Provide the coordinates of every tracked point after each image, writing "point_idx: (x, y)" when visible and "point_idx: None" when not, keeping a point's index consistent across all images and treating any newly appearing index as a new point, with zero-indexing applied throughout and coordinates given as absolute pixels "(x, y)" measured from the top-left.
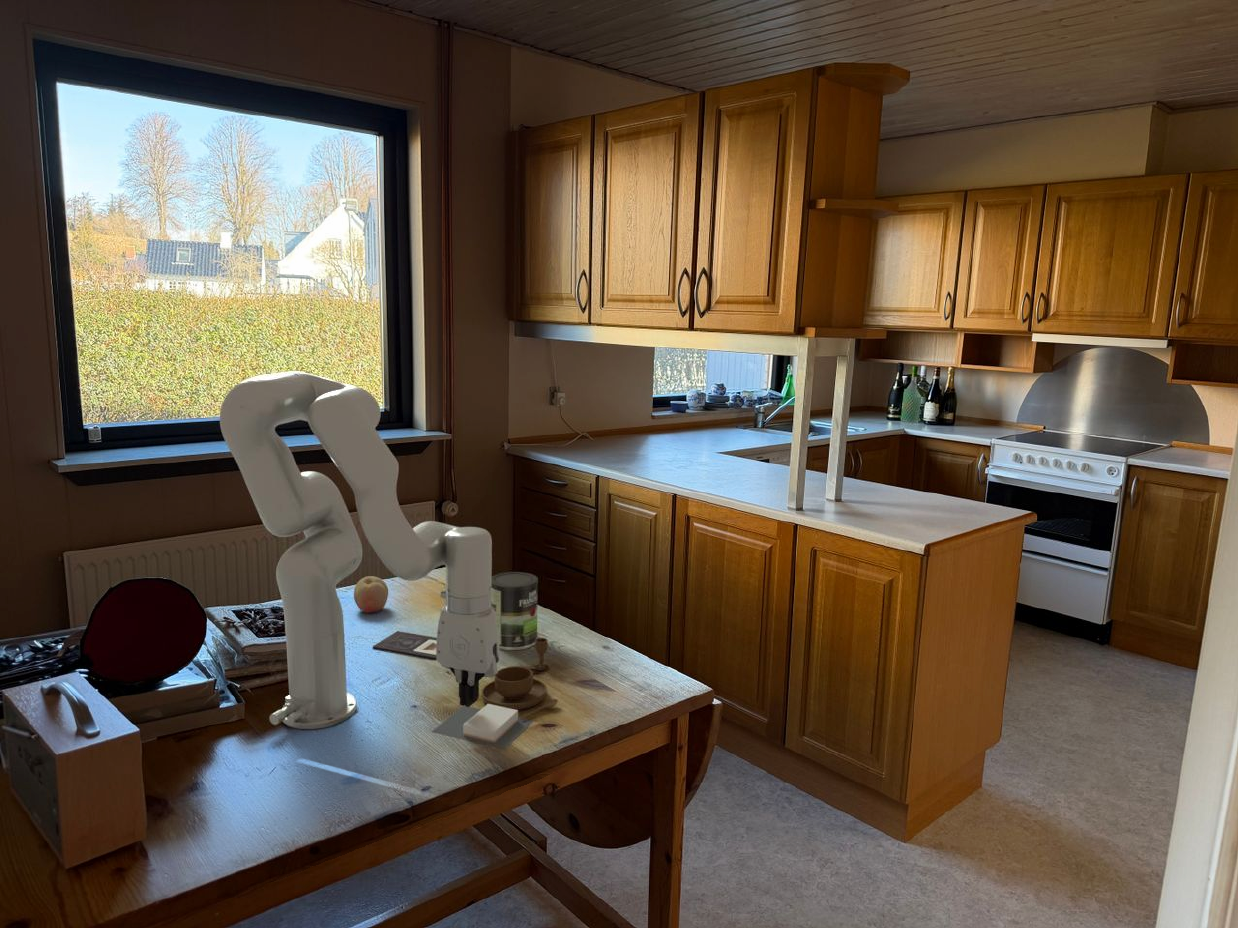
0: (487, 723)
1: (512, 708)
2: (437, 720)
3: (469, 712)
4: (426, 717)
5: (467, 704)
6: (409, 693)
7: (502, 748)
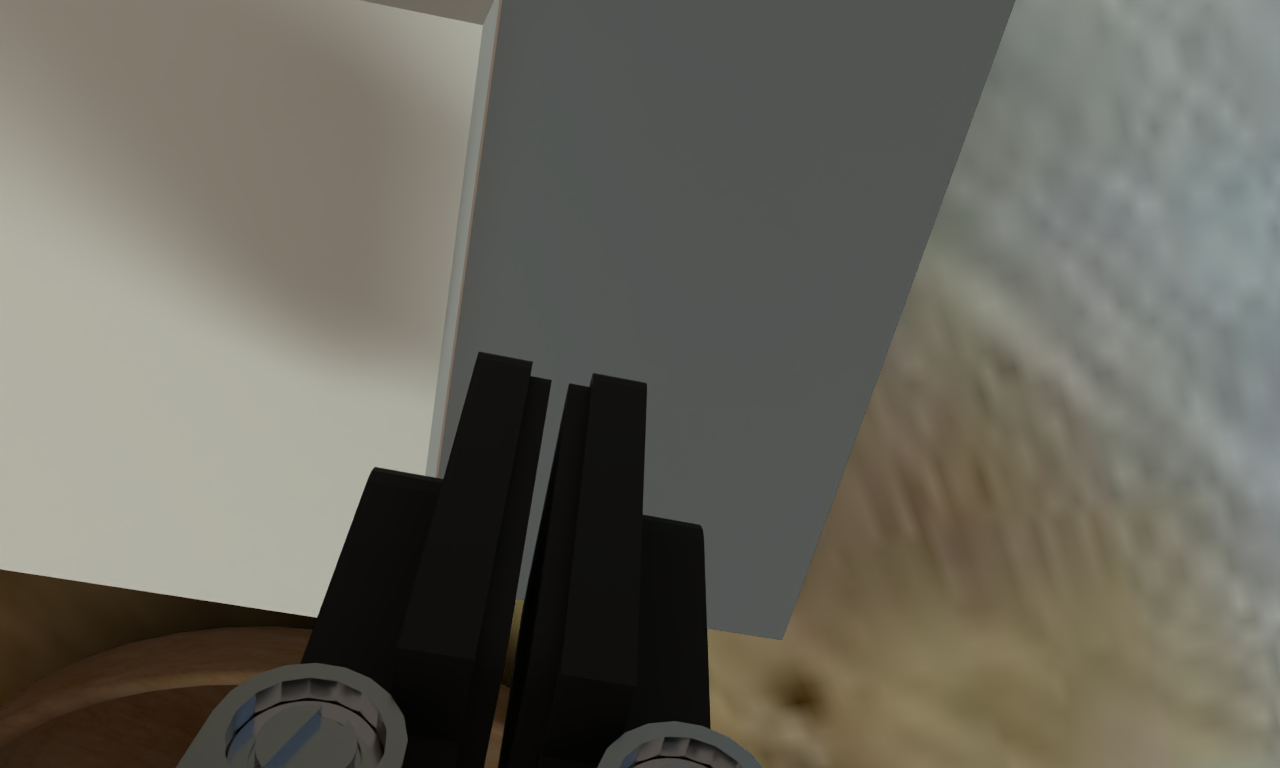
0: (111, 140)
1: (150, 640)
2: (1021, 338)
3: None
4: (1180, 376)
5: (481, 370)
6: None
7: None
